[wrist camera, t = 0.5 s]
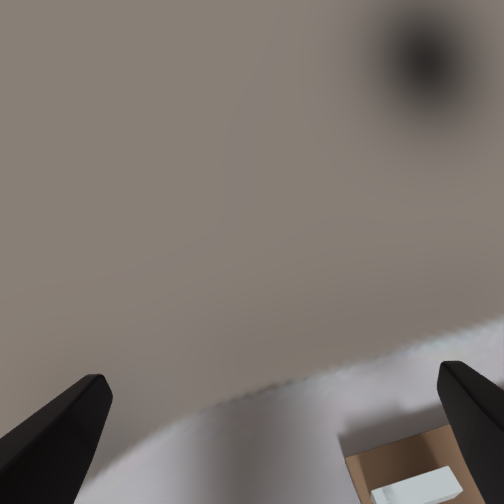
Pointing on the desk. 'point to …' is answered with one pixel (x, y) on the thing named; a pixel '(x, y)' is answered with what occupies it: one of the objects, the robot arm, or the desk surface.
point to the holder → (414, 472)
